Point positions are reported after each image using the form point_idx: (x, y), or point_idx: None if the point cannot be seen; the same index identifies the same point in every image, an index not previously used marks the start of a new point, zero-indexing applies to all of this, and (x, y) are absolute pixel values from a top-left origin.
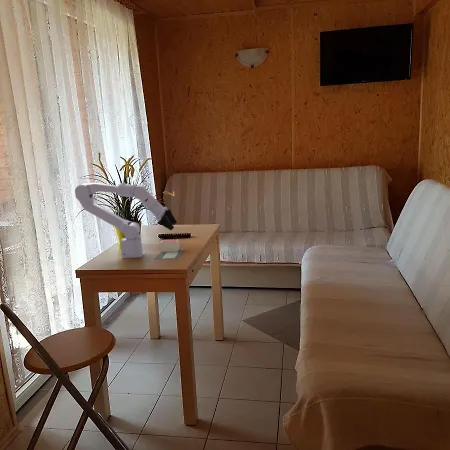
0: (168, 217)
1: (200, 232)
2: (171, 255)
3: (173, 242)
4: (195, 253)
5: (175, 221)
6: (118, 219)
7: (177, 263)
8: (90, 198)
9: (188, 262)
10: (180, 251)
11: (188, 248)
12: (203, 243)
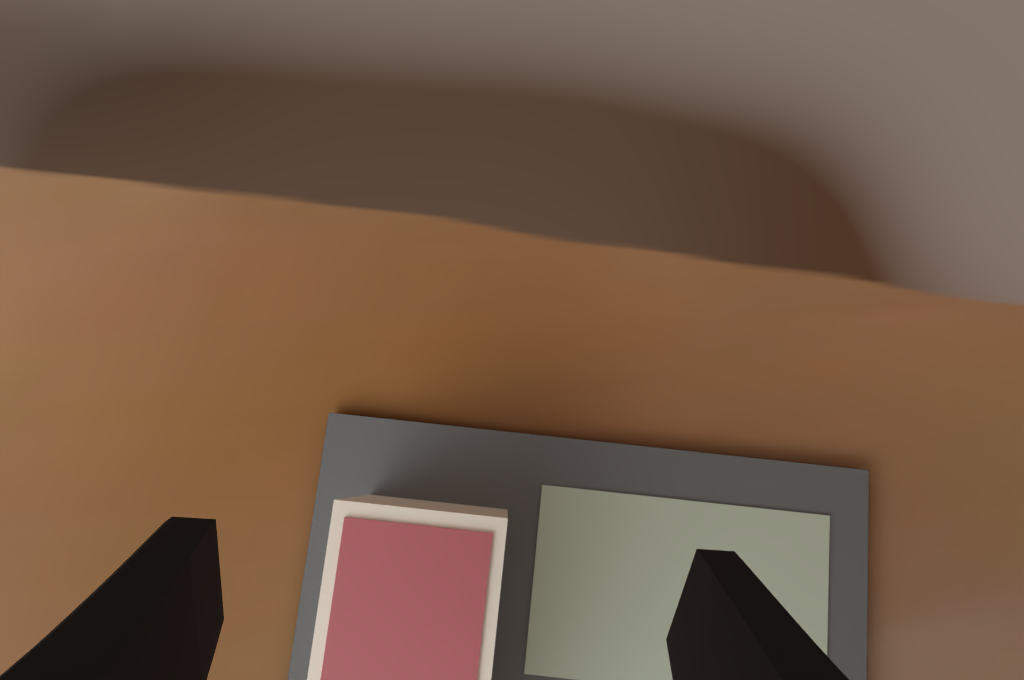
0: None
1: None
2: None
3: (500, 577)
4: (588, 254)
5: (194, 568)
6: None
7: (1008, 448)
8: None
9: (978, 310)
10: (496, 465)
11: (308, 371)
12: (102, 181)
